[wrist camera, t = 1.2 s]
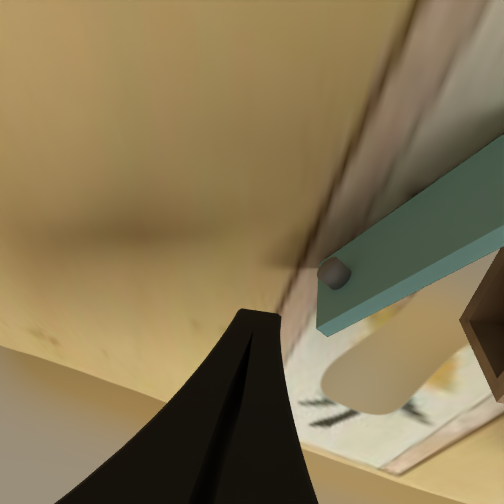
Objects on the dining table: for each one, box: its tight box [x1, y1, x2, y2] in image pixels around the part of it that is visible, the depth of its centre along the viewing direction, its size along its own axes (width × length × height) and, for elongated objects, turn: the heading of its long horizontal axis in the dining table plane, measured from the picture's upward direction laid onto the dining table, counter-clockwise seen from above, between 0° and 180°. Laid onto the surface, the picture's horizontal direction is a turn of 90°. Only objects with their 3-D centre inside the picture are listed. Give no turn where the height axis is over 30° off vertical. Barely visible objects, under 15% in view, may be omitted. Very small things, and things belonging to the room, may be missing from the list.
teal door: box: [316, 134, 504, 337], centre depth 13 cm, size 2×13×5 cm, turn 139°
